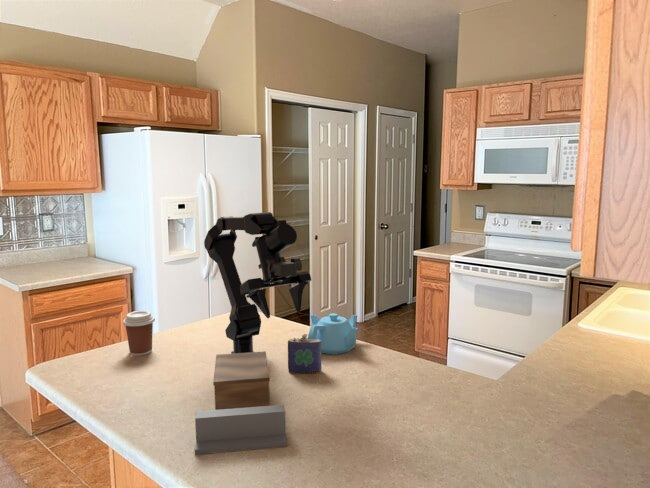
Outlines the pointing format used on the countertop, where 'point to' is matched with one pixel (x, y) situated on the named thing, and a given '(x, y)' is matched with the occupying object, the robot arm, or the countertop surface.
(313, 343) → the flask
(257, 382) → the recipe box
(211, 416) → the gray flanged bar
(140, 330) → the coffee cup
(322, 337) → the teapot
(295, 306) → the robot arm
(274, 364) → the countertop surface
